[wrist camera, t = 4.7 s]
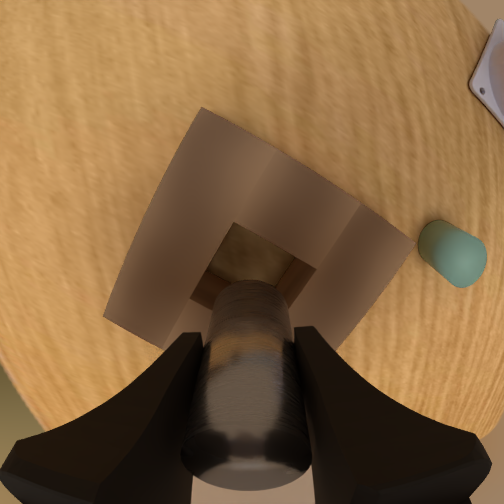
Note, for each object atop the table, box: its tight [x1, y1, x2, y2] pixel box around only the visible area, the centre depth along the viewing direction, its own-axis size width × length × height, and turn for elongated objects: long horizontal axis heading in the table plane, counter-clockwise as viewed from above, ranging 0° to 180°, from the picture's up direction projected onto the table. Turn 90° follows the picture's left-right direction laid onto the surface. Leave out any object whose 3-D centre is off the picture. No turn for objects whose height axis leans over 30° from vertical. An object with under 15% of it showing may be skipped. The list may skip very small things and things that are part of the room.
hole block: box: [103, 107, 416, 351], centre depth 17 cm, size 12×12×4 cm
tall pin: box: [180, 280, 312, 491], centre depth 9 cm, size 3×3×7 cm
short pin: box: [418, 220, 487, 288], centre depth 17 cm, size 3×3×4 cm
